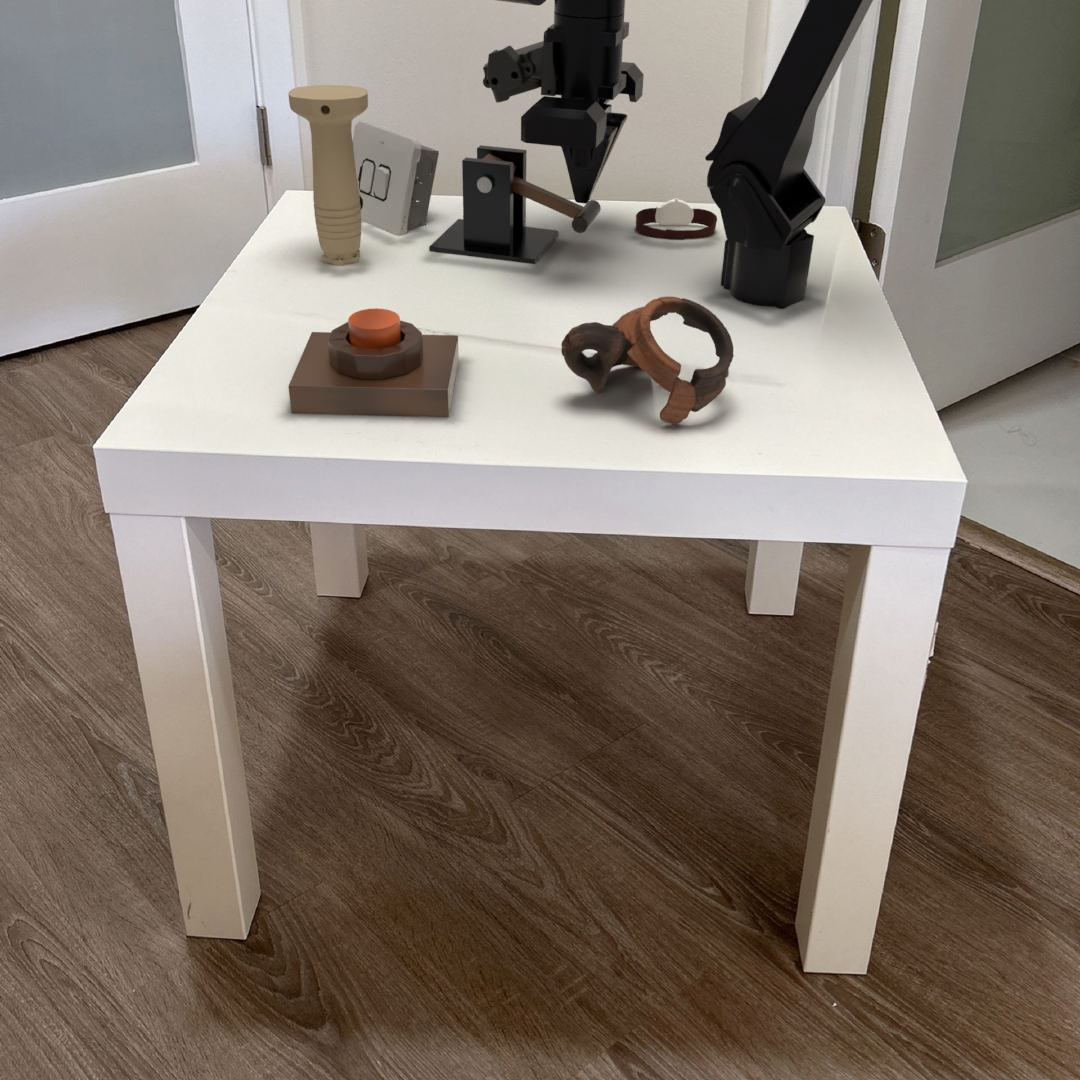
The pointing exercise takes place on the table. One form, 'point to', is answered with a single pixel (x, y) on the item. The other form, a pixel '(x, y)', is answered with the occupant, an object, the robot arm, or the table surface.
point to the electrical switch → (392, 178)
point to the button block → (376, 375)
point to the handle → (333, 166)
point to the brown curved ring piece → (652, 354)
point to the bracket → (494, 212)
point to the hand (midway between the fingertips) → (582, 201)
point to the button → (374, 329)
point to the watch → (675, 220)
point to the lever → (556, 201)
